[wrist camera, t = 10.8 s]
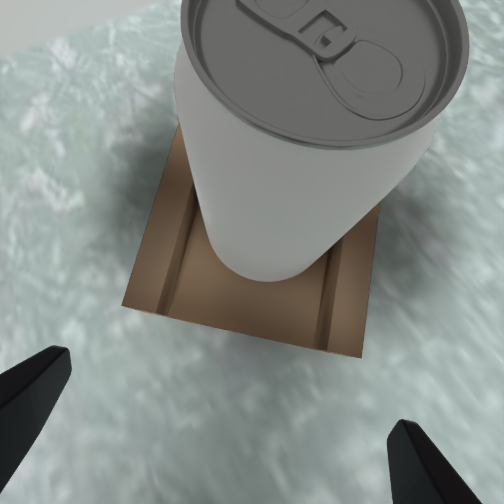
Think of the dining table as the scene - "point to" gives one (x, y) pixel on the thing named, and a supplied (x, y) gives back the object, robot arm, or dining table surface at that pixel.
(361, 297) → the cradle
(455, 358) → the dining table surface
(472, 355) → the dining table surface
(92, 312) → the dining table surface
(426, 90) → the can
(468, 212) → the dining table surface
